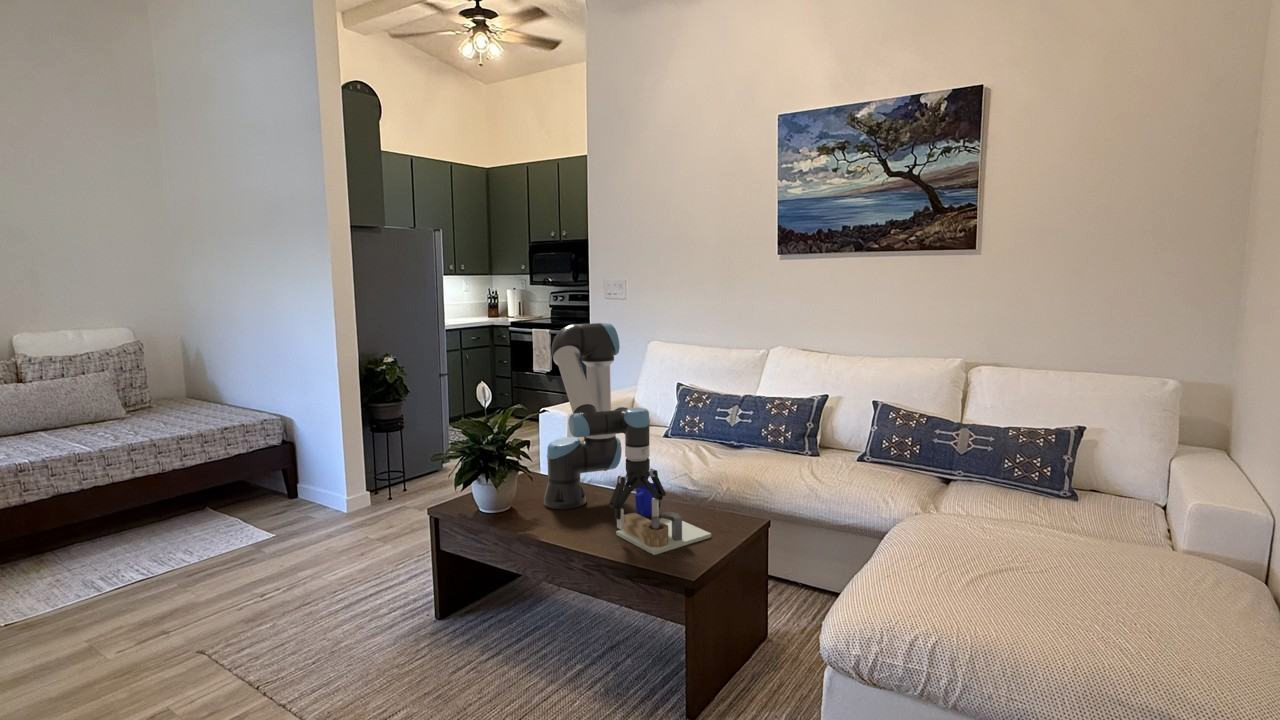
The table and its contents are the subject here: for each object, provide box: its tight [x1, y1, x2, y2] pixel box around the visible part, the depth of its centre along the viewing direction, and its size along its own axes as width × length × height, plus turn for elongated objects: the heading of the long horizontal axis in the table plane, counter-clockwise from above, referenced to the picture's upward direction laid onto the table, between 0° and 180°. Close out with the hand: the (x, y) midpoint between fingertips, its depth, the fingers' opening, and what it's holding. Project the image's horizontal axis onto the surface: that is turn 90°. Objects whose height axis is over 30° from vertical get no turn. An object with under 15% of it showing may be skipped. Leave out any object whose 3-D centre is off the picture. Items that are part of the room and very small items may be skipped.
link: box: [624, 512, 668, 547], centre depth 215 cm, size 18×7×5 cm, turn 36°
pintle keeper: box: [651, 510, 683, 541], centre depth 213 cm, size 7×10×9 cm
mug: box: [634, 482, 657, 518], centre depth 237 cm, size 8×12×10 cm
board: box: [615, 518, 712, 556], centre depth 219 cm, size 20×22×1 cm
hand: (638, 523), depth 218 cm, fingers open, 13 cm apart
